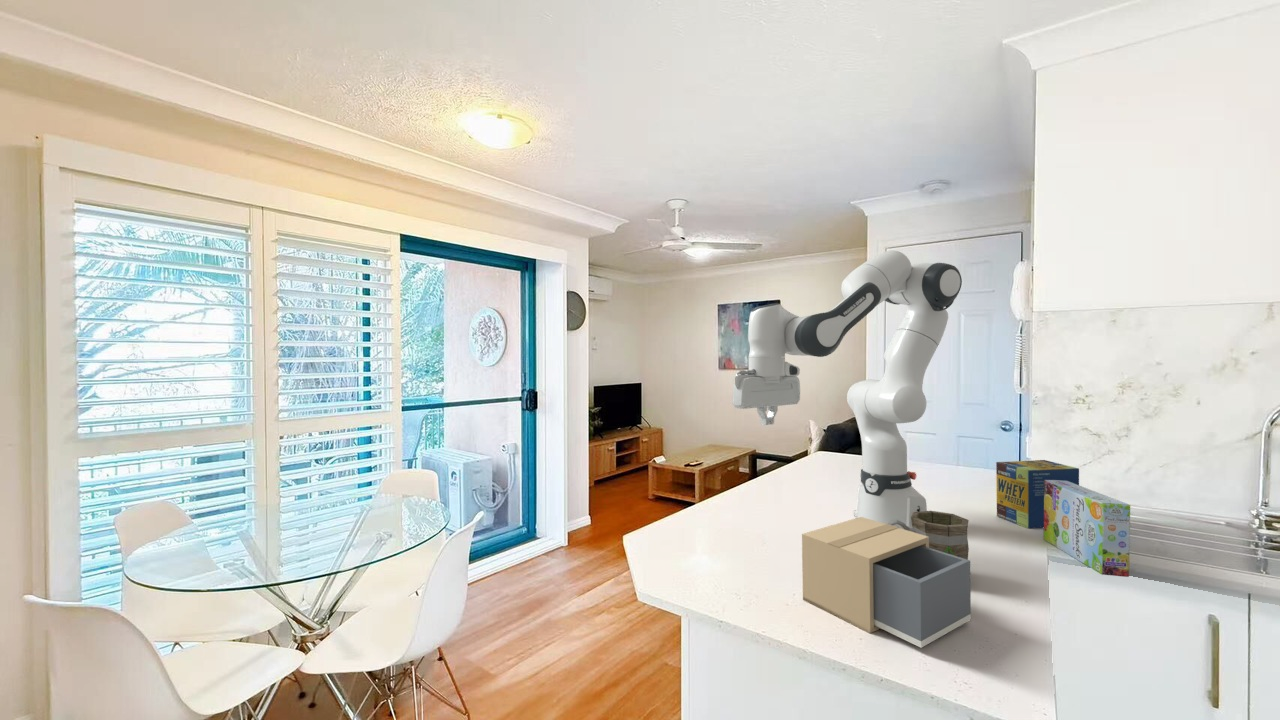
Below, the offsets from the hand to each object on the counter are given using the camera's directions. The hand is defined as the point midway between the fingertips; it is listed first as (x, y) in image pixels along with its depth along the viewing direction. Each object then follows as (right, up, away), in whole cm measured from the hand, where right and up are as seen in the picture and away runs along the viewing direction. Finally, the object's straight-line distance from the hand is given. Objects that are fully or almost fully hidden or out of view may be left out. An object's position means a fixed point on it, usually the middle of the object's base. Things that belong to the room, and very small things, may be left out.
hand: (767, 424), depth 126 cm
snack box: (+68, -28, -12) cm, 75 cm away
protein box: (+77, -28, +12) cm, 83 cm away
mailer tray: (+12, -29, -34) cm, 47 cm away
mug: (+28, -29, -20) cm, 45 cm away
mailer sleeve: (+10, -29, -31) cm, 44 cm away
